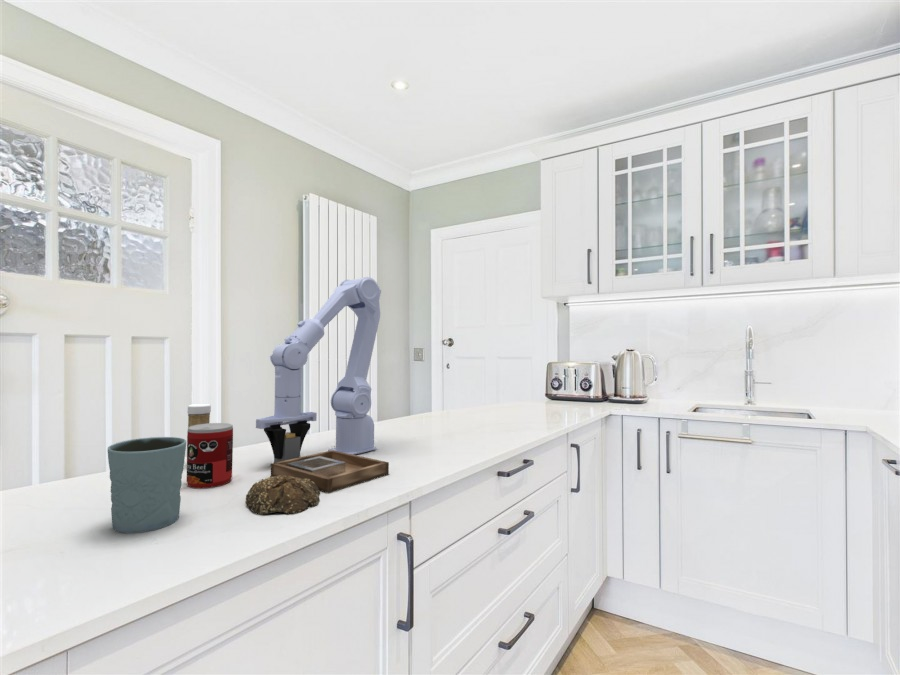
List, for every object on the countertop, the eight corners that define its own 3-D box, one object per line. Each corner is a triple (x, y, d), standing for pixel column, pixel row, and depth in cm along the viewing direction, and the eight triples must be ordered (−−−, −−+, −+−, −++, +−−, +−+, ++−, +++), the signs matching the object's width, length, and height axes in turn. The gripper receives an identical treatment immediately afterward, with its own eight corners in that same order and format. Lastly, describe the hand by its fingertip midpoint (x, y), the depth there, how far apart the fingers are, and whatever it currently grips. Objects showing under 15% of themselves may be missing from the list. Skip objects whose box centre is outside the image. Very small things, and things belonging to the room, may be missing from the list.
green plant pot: (170, 506, 79) (171, 434, 79) (196, 521, 72) (198, 442, 73) (96, 523, 71) (98, 443, 71) (118, 542, 65) (120, 454, 65)
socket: (319, 465, 104) (319, 456, 104) (345, 471, 99) (345, 462, 99) (286, 473, 97) (286, 463, 97) (312, 480, 92) (312, 470, 92)
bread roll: (247, 496, 86) (248, 468, 86) (318, 489, 90) (319, 463, 90) (241, 521, 73) (242, 489, 73) (323, 513, 77) (324, 482, 78)
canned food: (177, 485, 91) (178, 427, 91) (215, 475, 98) (216, 421, 98) (203, 491, 87) (204, 431, 87) (240, 480, 94) (241, 424, 94)
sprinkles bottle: (212, 465, 105) (213, 404, 105) (190, 468, 102) (191, 406, 102) (206, 461, 108) (207, 402, 109) (183, 464, 105) (185, 404, 105)
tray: (332, 460, 110) (332, 450, 110) (388, 474, 100) (388, 462, 100) (270, 475, 97) (270, 463, 97) (327, 493, 87) (327, 479, 87)
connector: (289, 460, 110) (289, 431, 110) (299, 463, 108) (300, 433, 108) (273, 463, 107) (274, 433, 107) (284, 466, 105) (285, 436, 105)
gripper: (304, 392, 116) (303, 448, 116) (248, 397, 104) (247, 459, 104) (322, 394, 112) (321, 452, 111) (266, 400, 100) (265, 464, 100)
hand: (287, 456), depth 107 cm, fingers closed on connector, 4 cm apart
